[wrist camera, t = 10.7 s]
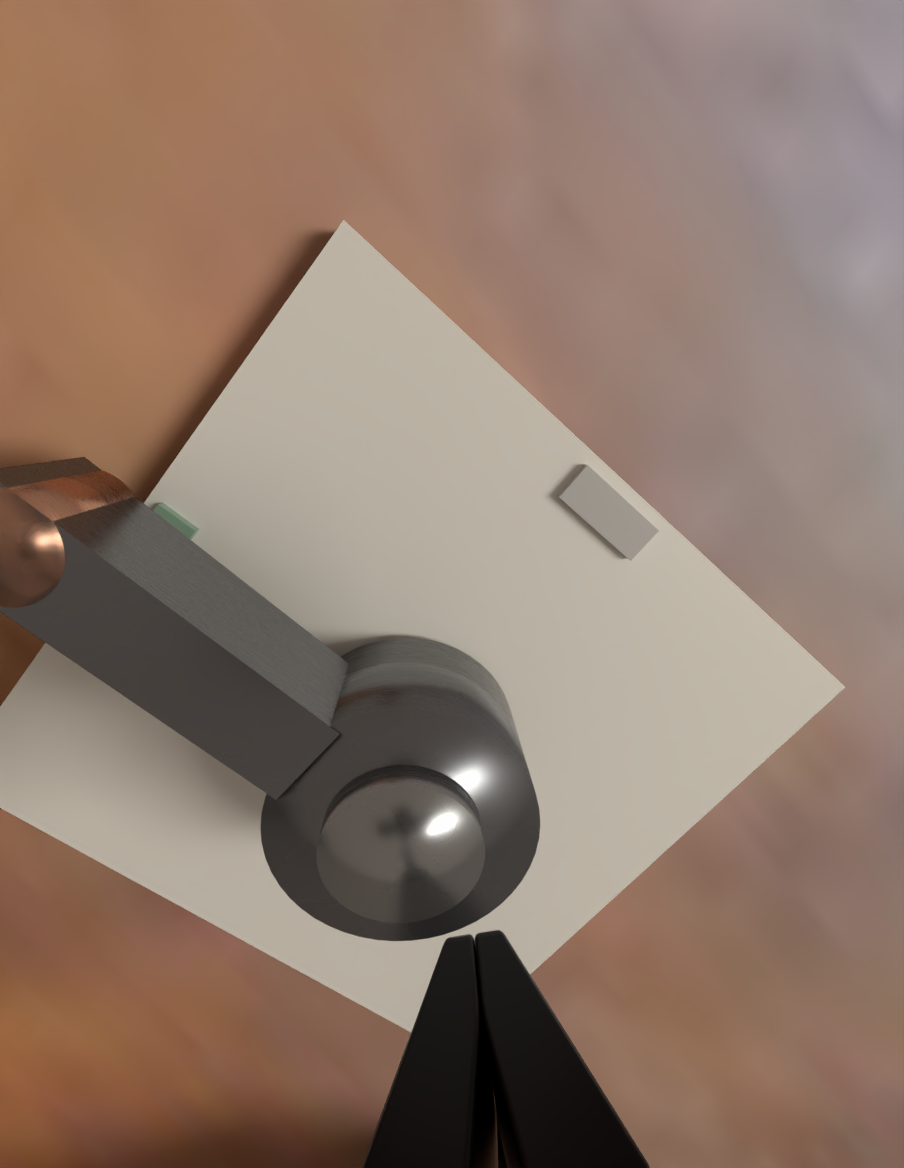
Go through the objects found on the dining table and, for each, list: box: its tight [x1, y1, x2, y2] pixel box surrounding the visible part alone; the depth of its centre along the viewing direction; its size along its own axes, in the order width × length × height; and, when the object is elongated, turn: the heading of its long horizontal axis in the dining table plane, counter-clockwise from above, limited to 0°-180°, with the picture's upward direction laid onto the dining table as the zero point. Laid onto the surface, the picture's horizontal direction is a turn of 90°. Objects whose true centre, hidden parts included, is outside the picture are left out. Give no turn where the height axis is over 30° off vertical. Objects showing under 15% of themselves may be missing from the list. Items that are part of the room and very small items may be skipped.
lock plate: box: [0, 220, 845, 1032], centre depth 19 cm, size 21×21×1 cm
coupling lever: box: [0, 457, 540, 941], centre depth 15 cm, size 16×7×5 cm, turn 47°
